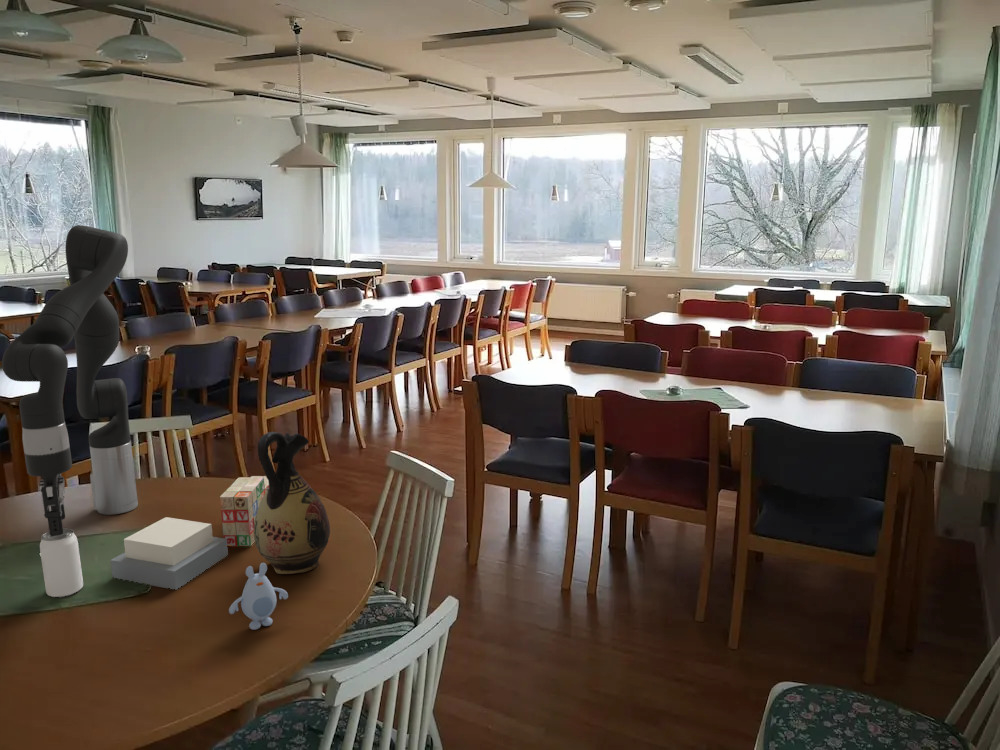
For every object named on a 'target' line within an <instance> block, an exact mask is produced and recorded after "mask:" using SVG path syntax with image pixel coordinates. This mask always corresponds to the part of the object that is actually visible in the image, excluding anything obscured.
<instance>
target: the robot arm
mask: <svg viewBox="0 0 1000 750" xmlns="http://www.w3.org/2000/svg"><path fill="white" fill-rule="evenodd" d="M65 240H66V241H65V261H66V266H67V272H68V278H69V283H70V285H68V286H66V287H65V288H62V289H61V290H59V291H58V292H56V293H54V295H52V296H51V297H50V298H49V299H48V301H46V303H45V304H44V306H43V308H42V310H41V311H40V313H39V314H38V316H37V318H36V319H35V322H34V323H32V324H31V325H30V326H29V327H28V328H26V329H25V330H23V332H21V333H20V334H19V335H18V336H17V337H16V338H14V340H13V341H12V342H10V344H9V345H8V346H7V347H6V349H5V351H4V353H3V356H2V360H1V367H2V370H3V373H4V375H5V376H6V377H7V378H8V379H10V380H11V381H15V382H22V383H23V382H26V383H27V382H32V383H33V382H34V383H35V382H39V387H38V390H37V392H33V393H28V394H26V395H23V396H22V397H21V398H20V400H19V405H18V406H19V407H18V408H19V415H20V421H21V428H22V434H21V435H22V445H23V452H24V453H23V454H24V459H25V466H26V471H27V474H28V476H31V477H41V478H42V479H40V483H39V491H40V493H41V505H42V506H43V510H44V511H43V512H44V514H43V516H44V518H45V519H47V523H48V532H50V535H51V536H57V535H62V534H63V528H64V526H63V525H64V524H63V520H65V518H66V512H65V504H64V503H65V502H64V498H65V494H66V491H65V489H66V488H65V476H62V474H63V473H64V474H65V473H66V472H68V471H69V470H71V468H72V467H73V461H72V453H71V446H70V439H69V433H68V432H69V431H68V428H67V424H66V420H65V412H64V403H63V399H64V393H65V385H66V381H67V379H66V378H67V373H68V368H69V362H68V361H69V360H68V357H67V355H66V353H65V352H64V351H65V350H63V349H62V347H66V346H68V345H69V344H70V343H71V341H72V340H73V338H74V348H75V355H76V356H75V357H76V405H77V411H78V412H79V415H80V417H82V419H85V420H86V419H87V420H88V419H89V420H92V419H102V418H103V419H104V418H109V417H112V418H111V419H110V421H108V422H107V423H106V424H105V425H103V426H101V427H99V428H97V429H94V430H93V431H91V432H90V433H89V435H88V445H89V452H90V461H91V467H92V468H91V469H92V473H90V475H89V478H90V485H91V486H90V487H91V493H92V502H93V509H94V511H97V513H98V514H101V515H107V516H111V515H119V514H124V513H128V512H130V511H132V510H135V509H136V508H137V507H138V505H139V502H138V495H137V494H138V493H137V483H136V476H135V475H136V474H135V467H134V458H133V457H134V455H133V448H132V441H131V438H132V437H131V432H130V422H129V402H128V392H127V386H126V384H125V382H124V381H123V379H121V378H118V377H114V378H106V379H105V378H104V379H97V380H96V377H97V375H98V373H99V371H100V370H101V368H102V367H103V366H104V364H106V362H107V361H108V360H110V358H111V357H112V356H113V354H114V352H115V351H116V350H117V349H118V348H117V347H118V346H119V343H120V318H119V316H118V313H117V311H116V309H115V307H114V306H113V304H112V303H111V302H110V300H109V299H108V297H107V296H106V295H105V294H104V293H105V291H107V289H108V288H109V287H110V286H111V284H112V283H113V282H114V281H115V280H116V278H117V277H118V276H119V274H120V273H121V271H122V270H123V269H124V266H125V265H126V262H127V258H128V254H129V245H128V244H129V243H128V241H127V238H126V237H125V236H124V235H123V234H120V233H117V232H114V231H111V230H110V231H109V230H106V229H101V228H97V227H93V226H87V225H79V224H78V225H74V226H72V227H71V228H70V229H69V231H68V233H67V236H66V239H65Z"/></svg>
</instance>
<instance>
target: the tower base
mask: <svg viewBox="0 0 1000 750" xmlns="http://www.w3.org/2000/svg"><path fill="white" fill-rule="evenodd" d="M212 526H213V525H212V523H208V522H201V521H194V520H187V519H180V518H173V517H167V516H165V517H164V518H161V519H160V520H158V521H155V522H154V523H152V524H150V525H148V526H147V527H144V528H142V529H141V530H138V531H137V532H134V533H133V534H131V535H129V536H126V537H125V538H124V539H123V544H124V552H123V553H121V554H119V555H117V556H115V557H113V558H111V559H110V565H111V566H110V567H111V575H112V578H113V577H114V578H113V579H115V578H119V579H118V580H120V579H123V580H122V581H125V580H129V581H128V582H131V581H134V582H133V583H136V582H138V583H137V584H142V583H146V584H145V585H147V584H150V585H149V586H153V587H158V588H164V589H168V588H170V589H169V590H174V589H175V590H176V591H177V590H179V589H180V588H182V587H184V586H185V585H186V584H188V583H189V582H191V581H192V580H194V579H195V578H197V577H198V576H200V575H202V574H203V573H204V571H205V570H206V569H208V568H209V569H211V568H212V567H213V566H212V565H214V564H215V563H217V562H218V561H220V560H221V559H223V558H224V557H226V556H227V555H228V556H229V550H228V548H229V547H227V539H225V538H223V537H218V536H213V527H212ZM228 556H227V557H228ZM227 557H226V558H227ZM224 559H225V558H224ZM224 559H223V560H224ZM221 561H222V560H221ZM221 561H220V562H221ZM218 563H219V562H218ZM218 563H217V564H218ZM215 565H216V564H215ZM215 565H214V566H215ZM211 566H212V567H211ZM210 567H211V568H210ZM209 569H208V570H209ZM206 571H207V570H206ZM206 571H205V572H206ZM202 572H203V573H202ZM199 574H200V575H199ZM196 576H197V577H196ZM193 578H194V579H193ZM190 580H191V581H190ZM187 582H188V583H187ZM181 586H182V587H181ZM178 588H179V589H178ZM175 590H174V591H175Z"/></svg>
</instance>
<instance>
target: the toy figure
mask: <svg viewBox="0 0 1000 750" xmlns="http://www.w3.org/2000/svg"><path fill="white" fill-rule="evenodd" d="M267 570H268V566H267V564H266V563H265V562H261V563H260V564H259V570H258V571H259V572H257V573H254V568H253V566H251V565H249V566H247V567H246V569H245V576H247V577H248V579H247V581H246V582H245V585H244V586H243V587H244V588H243V590H242V595H241V596H240V597H238V598H237V599H235V600H234V601H233V603H231V605H230V607H228V613H229V614H230V615H233V614H235V613H236V612H238V611H239V603H240V607H241V610H242V612H243V614H244V615H245V616H246V617H248V619H250V620H252V621H251V622H250V623H249V625H248V626H249V629H250V630H254V631H255V630H258V629H260V628H261V626H263V627H269V626H271V625H272V624H273V621H274V620H273V618H271V617H270V616H271V615H272V614H273V612H274V611H275V609H276V607H277V601H278V599H277V598H278V597H277V594H276V592H278V593H279V595H278V596H279V600H282V599H283V600H287V599H288V598H289V594H288V592H287V590H285V589H283V588H280V587H274V586H273V585H272V583H271V582H270V580H269V579H268V577H267V576H266V575H265V574H266V573H267Z"/></svg>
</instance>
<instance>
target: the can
mask: <svg viewBox="0 0 1000 750" xmlns="http://www.w3.org/2000/svg"><path fill="white" fill-rule="evenodd" d="M74 531H75V530H74V529H71V528H64V527H63V534H62V535H57V536H51V535H50V532H49V531H47V532H44V533H43V534H42V535H41V536H40V539H41V541H40V543H39V551H40V559H41V560H40V561H41V566H42V572H43V573H42V574H43V579H44V586H45V592H46V595H47V596H48V597H50V596H51V598H55V597H59V598H65V596H66V597H68V596H72V595H75V594H77V593H78V592H80V591H81V589H82V588H83V587H84V580H83V570H82V564H81V557H80V548H79V542H78V537H77V536H76V534H75V532H74ZM76 592H77V593H76ZM74 593H75V594H74Z"/></svg>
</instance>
